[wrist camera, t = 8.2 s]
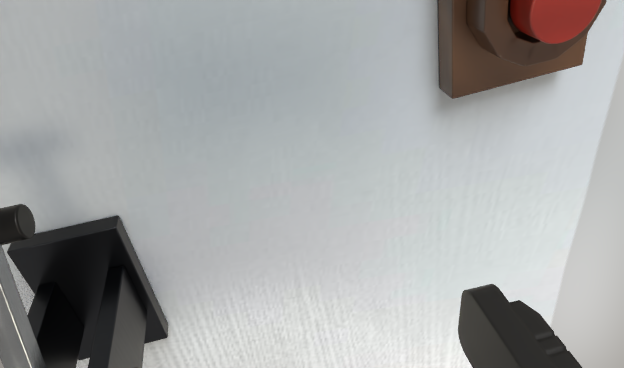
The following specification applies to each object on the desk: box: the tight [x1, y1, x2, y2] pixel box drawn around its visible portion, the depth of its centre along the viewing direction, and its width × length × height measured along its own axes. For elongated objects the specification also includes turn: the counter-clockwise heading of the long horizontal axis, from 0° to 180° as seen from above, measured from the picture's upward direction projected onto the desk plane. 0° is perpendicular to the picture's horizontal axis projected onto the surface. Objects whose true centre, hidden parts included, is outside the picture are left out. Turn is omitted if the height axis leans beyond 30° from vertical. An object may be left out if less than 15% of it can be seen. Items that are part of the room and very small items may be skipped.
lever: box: [0, 204, 46, 368], centre depth 20 cm, size 13×4×2 cm, turn 8°
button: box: [510, 0, 602, 44], centre depth 22 cm, size 4×4×2 cm
